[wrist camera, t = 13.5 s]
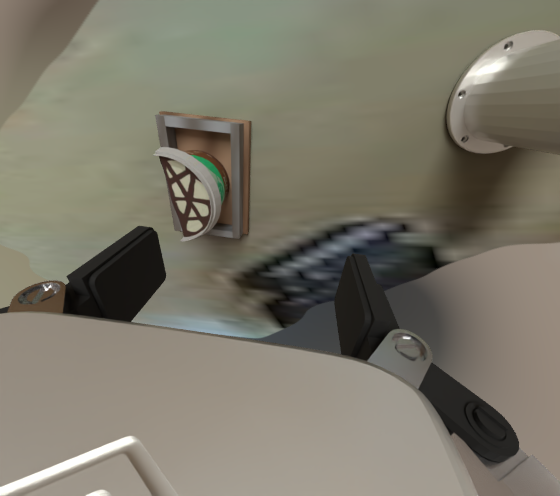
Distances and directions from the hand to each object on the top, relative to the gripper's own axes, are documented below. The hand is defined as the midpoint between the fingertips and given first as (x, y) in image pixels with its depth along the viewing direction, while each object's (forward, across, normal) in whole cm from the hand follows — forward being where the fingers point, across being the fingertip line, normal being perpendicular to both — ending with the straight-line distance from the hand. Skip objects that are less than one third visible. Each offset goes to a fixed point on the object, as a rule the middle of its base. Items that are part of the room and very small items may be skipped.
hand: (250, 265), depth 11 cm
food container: (+27, +11, +4) cm, 30 cm away
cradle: (+28, +12, +4) cm, 31 cm away
